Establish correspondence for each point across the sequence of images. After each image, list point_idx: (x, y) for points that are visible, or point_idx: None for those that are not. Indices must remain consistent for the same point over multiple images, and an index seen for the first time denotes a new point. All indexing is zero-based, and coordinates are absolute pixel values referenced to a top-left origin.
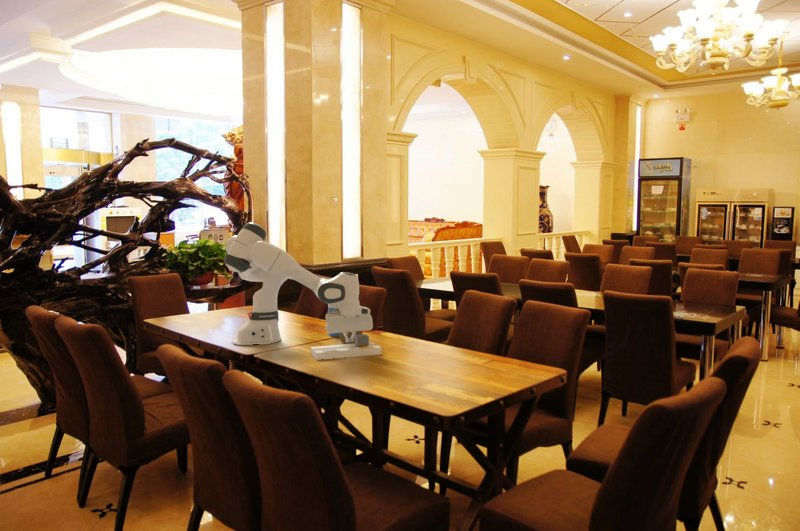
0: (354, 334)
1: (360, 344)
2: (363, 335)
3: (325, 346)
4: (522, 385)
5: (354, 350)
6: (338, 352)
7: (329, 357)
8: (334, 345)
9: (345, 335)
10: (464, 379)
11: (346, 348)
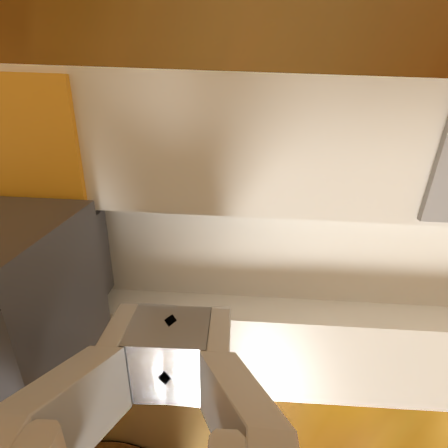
0: (28, 404)
1: (35, 206)
2: None
3: (440, 385)
4: None
5: (177, 69)
6: (433, 79)
7: None
8: (331, 387)
9: (265, 410)
10: None
11: (262, 201)
